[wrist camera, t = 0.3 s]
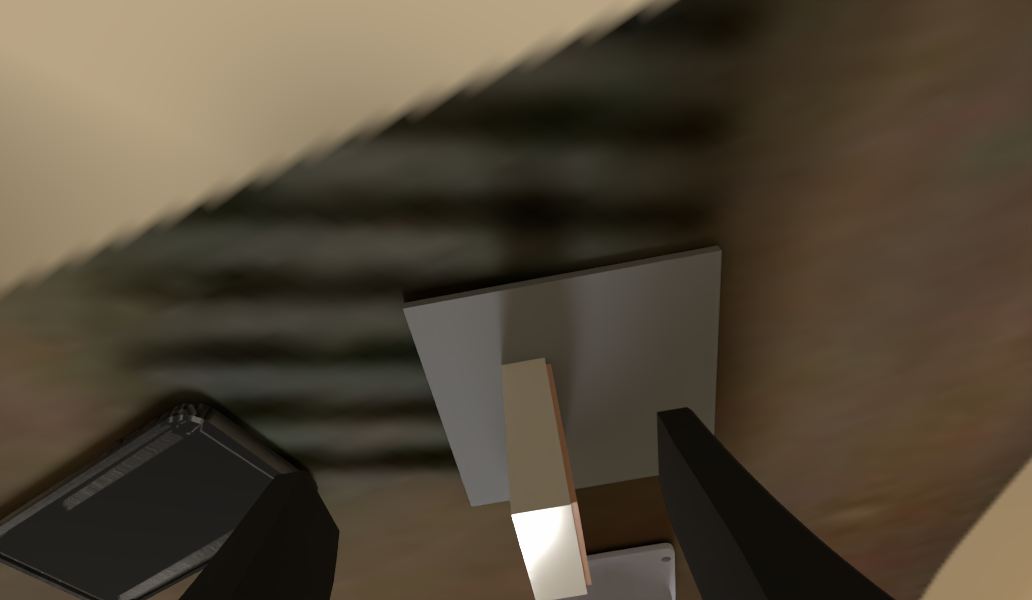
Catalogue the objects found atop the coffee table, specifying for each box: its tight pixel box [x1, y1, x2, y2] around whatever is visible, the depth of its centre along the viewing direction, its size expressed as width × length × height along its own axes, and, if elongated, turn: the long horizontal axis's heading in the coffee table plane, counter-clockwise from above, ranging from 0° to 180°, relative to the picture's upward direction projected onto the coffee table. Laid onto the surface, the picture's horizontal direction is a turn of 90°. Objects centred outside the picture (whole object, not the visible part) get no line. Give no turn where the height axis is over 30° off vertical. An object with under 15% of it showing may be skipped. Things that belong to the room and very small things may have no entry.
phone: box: [0, 402, 318, 600], centre depth 26 cm, size 8×1×15 cm
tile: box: [501, 358, 592, 600], centre depth 20 cm, size 5×2×7 cm, turn 10°
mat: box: [403, 246, 722, 507], centre depth 23 cm, size 12×12×1 cm
